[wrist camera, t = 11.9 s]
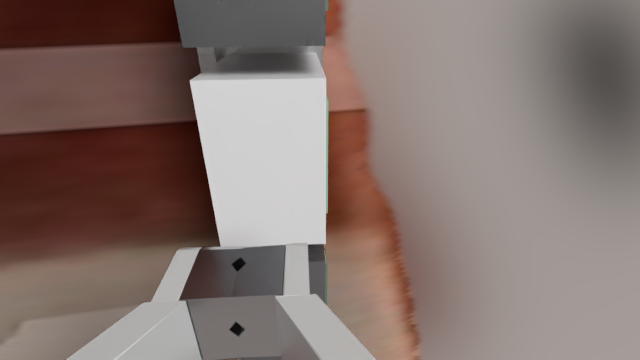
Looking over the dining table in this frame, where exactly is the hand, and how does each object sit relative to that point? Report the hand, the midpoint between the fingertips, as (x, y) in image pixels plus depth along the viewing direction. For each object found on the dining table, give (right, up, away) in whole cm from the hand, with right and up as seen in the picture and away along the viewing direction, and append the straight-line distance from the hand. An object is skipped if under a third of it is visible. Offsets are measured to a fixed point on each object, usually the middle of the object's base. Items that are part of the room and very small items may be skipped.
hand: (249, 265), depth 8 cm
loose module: (-1, +6, +11) cm, 12 cm away
